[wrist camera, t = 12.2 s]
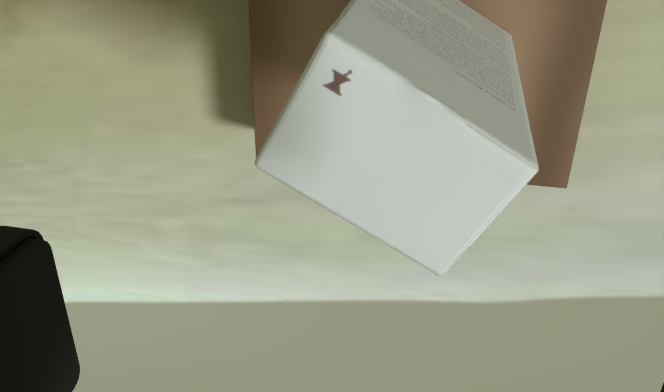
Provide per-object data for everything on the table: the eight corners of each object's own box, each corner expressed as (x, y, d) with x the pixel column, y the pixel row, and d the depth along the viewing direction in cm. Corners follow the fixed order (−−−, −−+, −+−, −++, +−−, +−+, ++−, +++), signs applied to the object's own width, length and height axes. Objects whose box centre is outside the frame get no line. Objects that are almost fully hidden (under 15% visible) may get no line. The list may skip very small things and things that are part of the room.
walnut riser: (616, -124, 24) (632, -121, 22) (558, 159, 30) (566, 188, 28) (265, -132, 27) (242, -130, 24) (273, 133, 33) (256, 157, 30)
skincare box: (333, 43, 27) (243, 164, 16) (388, -50, 25) (323, 22, 14) (454, 120, 27) (441, 285, 17) (517, 36, 25) (548, 165, 15)
